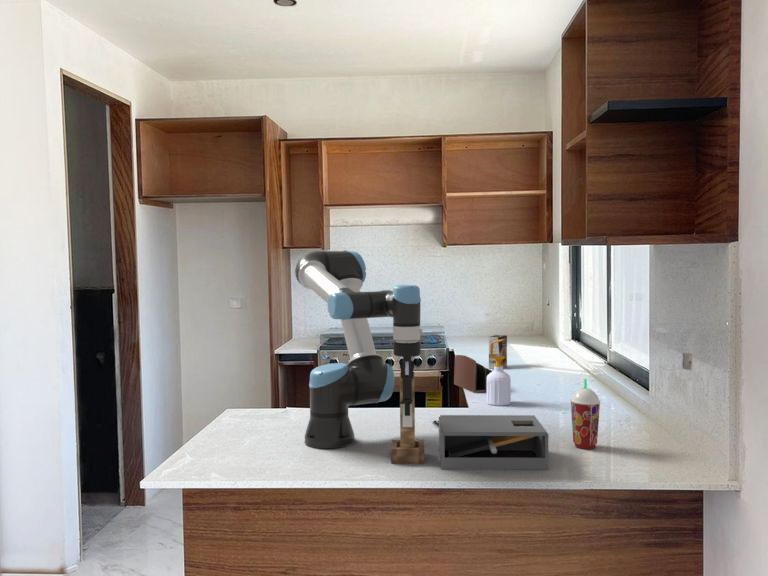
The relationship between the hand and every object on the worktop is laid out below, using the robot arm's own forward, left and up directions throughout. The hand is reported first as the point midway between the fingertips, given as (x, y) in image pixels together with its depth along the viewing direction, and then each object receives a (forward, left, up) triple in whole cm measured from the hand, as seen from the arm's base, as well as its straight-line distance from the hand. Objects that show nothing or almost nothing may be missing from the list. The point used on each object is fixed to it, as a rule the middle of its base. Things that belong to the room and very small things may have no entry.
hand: (407, 424), depth 181 cm
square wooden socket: (0, 0, -10) cm, 10 cm away
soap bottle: (+34, +68, -10) cm, 77 cm away
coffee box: (+44, +147, -10) cm, 154 cm away
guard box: (+23, 0, -10) cm, 25 cm away
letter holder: (+28, +98, -10) cm, 102 cm away
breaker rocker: (+23, 0, -5) cm, 24 cm away
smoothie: (+52, +12, -10) cm, 54 cm away
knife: (+12, +29, -10) cm, 33 cm away
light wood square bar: (0, 0, -10) cm, 10 cm away
